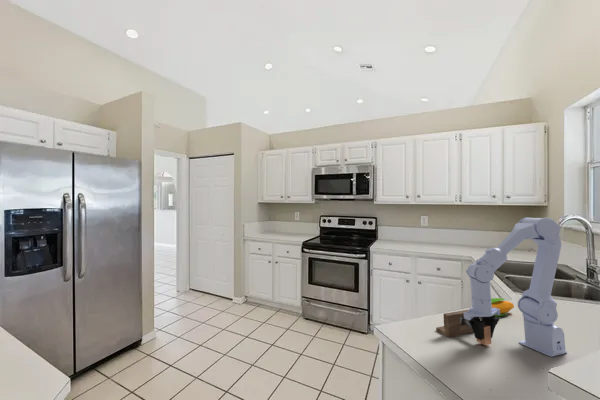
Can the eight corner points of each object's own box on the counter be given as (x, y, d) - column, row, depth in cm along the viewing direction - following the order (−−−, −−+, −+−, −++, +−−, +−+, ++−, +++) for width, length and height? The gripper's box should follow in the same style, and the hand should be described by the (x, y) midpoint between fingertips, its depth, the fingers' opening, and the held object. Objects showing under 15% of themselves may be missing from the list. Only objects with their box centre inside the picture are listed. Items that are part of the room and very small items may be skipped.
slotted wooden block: (477, 331, 99) (476, 310, 99) (449, 337, 95) (447, 315, 95) (463, 325, 104) (462, 305, 105) (436, 330, 100) (435, 309, 101)
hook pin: (491, 343, 88) (490, 326, 88) (484, 345, 87) (483, 327, 88) (458, 328, 100) (457, 312, 101) (452, 329, 100) (451, 313, 100)
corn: (471, 297, 115) (503, 292, 121) (471, 314, 115) (503, 308, 121) (487, 304, 108) (521, 298, 114) (487, 322, 108) (520, 315, 114)
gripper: (485, 292, 96) (487, 329, 95) (455, 297, 92) (457, 335, 91) (505, 298, 89) (508, 338, 88) (473, 303, 85) (476, 345, 84)
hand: (483, 337), depth 89 cm, fingers open, 4 cm apart
